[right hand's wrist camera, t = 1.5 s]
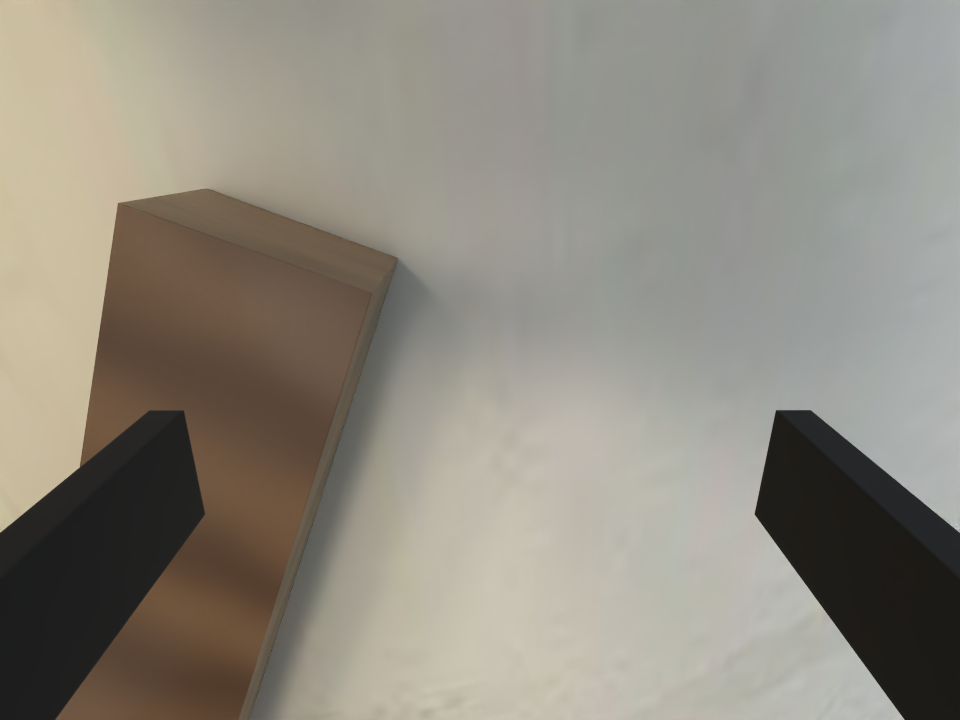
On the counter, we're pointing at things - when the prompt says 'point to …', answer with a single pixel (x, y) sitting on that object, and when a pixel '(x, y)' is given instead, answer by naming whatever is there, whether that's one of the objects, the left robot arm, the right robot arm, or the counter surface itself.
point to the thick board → (225, 430)
